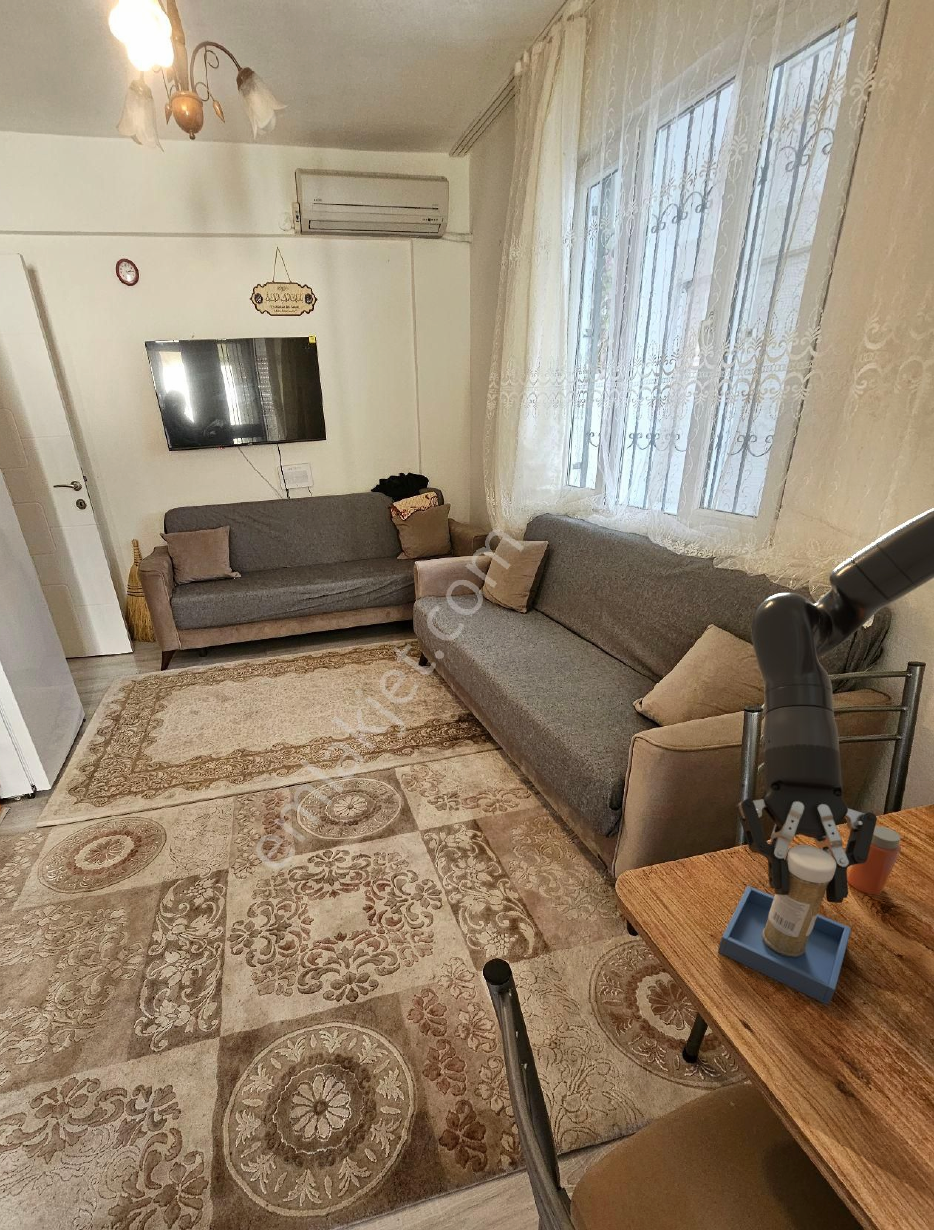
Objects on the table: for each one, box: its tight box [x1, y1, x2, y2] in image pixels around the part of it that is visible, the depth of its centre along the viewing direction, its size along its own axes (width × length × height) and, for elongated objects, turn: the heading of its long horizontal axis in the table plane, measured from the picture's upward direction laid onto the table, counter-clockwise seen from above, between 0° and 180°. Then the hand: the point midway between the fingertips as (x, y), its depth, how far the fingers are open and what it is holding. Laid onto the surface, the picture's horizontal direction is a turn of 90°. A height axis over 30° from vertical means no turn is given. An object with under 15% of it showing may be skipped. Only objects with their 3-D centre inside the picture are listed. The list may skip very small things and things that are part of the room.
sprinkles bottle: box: [762, 844, 836, 957], centre depth 67 cm, size 5×5×14 cm
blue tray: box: [717, 885, 852, 1006], centre depth 69 cm, size 11×11×2 cm
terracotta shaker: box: [847, 825, 902, 895], centre depth 77 cm, size 4×4×9 cm
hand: (808, 897), depth 64 cm, fingers closed on sprinkles bottle, 4 cm apart
